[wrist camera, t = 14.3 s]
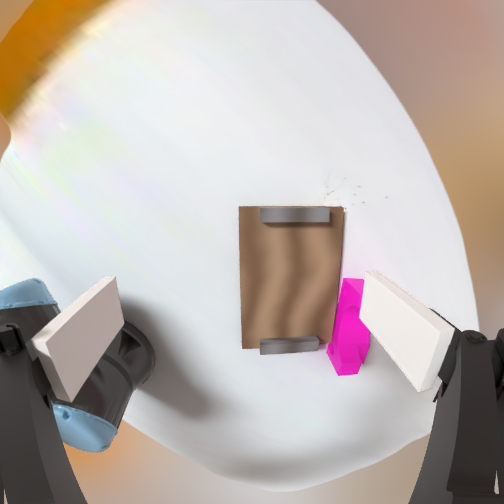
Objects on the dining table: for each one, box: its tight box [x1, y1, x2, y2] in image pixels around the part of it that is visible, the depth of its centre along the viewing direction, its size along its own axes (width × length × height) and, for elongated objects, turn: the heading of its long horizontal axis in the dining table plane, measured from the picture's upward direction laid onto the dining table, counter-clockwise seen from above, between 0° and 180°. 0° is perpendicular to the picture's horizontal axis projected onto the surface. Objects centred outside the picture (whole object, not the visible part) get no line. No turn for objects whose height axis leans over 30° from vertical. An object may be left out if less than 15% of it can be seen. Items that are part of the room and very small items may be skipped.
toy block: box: [327, 278, 370, 376], centre depth 43 cm, size 15×6×8 cm, turn 175°
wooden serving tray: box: [239, 206, 344, 355], centre depth 43 cm, size 16×24×3 cm, turn 1°
